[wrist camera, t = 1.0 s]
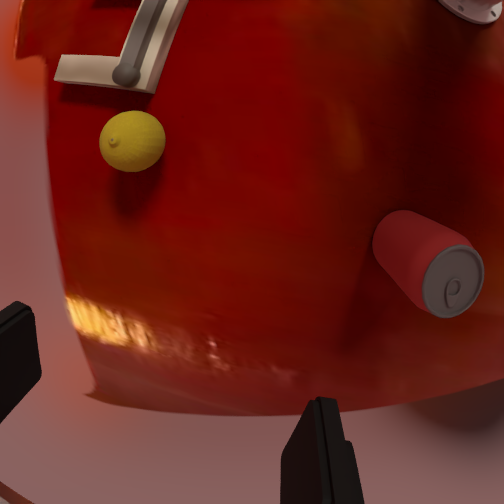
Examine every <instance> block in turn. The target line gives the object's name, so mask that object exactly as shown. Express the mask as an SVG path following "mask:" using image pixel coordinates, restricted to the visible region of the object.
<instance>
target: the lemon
mask: <svg viewBox="0 0 504 504" xmlns="http://www.w3.org/2000/svg"><path fill="white" fill-rule="evenodd" d="M165 140H166V139H165V132H164V130H163V127H162V125H161V124H160V123H159V121H158V120H157V119H156V118H154V117H153V116H152V115H150V114H147V113H145V112H142V111H128V112H123V113H120V114H118V115H116V116H114V117H113V118H112V119H111V120H109V121H108V122H107V124H106V125H105V126H104V128H103V130H102V132H101V136H100V150H101V154H102V156H103V158H104V159H105V160H106V161H107V163H108V164H109V165H111V166H113V167H114V168H116V169H118V170H121V171H125V172H137V171H141V170H145V169H147V168H148V167H150V166H152V165H153V164H154V163H155V162H156V161H157V160H158V159H159V158H160V156H161V155H162V153H163V150H164V147H165Z"/></svg>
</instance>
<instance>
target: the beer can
mask: <svg viewBox="0 0 504 504" xmlns="http://www.w3.org/2000/svg"><path fill="white" fill-rule="evenodd" d="M372 247H373V254H374V256H375V258H376V260H377V262H378V263H379V264H380V265H381V267H382V268H383V269H384V270H385V271H386V272H387V273H388V274H389V276H390V277H391V278H392V279H393V280H394V281H395V282H396V284H397V285H398V286H399V287H400V288H401V289H402V291H403V292H404V293H405V294H406V295H407V296H408V298H409V299H410V300H411V301H412V302H413V303H414V304H415V305H416V306H417V307H418V308H420V309H422V310H424V311H427V312H429V313H431V314H433V315H435V316H437V317H439V318H451V317H454V316H457V315H460V314H461V313H463V312H464V311H465V310H467V309H468V308H469V307H470V306H471V305H472V304H473V302H474V301H475V300H476V298H477V296H478V295H479V293H480V291H481V288H482V284H483V281H484V265H483V262H482V258H481V257H480V255H479V254H478V252H477V251H476V250H475V249H474V248H473V246H472V245H471V244H470V242H469V241H468V240H467V239H466V238H465V237H464V236H462V235H461V234H459V233H458V232H456V231H454V230H452V229H450V228H448V227H446V226H443V225H441V224H439V223H437V222H435V221H433V220H431V219H428V218H426V217H424V216H422V215H420V214H417V213H415V212H413V211H409V210H399V211H394V212H392V213H390V214H389V215H387V216H385V217H384V218H383V219H382V221H381V222H380V223H379V224H378V226H377V228H376V230H375V232H374V235H373V241H372Z"/></svg>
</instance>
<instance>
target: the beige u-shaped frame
mask: <svg viewBox="0 0 504 504" xmlns="http://www.w3.org/2000/svg"><path fill="white" fill-rule="evenodd" d="M188 1H189V0H142V2H141V4H140V7H139V9H138V11H137V14H136V16H135V18H134V21H133V23H132V26H131V28H130V31H129V33H128V36H127V38H126V41H125V44H124V47H123V49H122V52H121V55H120V57H111V56H92V55H62V56H61V59H60V62H59V65H58V68H57V71H56V74H55V78H54V80H55V81H59V82H63V83H70V84H82V85H93V86H102V87H110V88H118V89H126V90H133V91H139V92H146V93H152V94H155V91H156V87H157V84H158V81H159V78H160V75H161V72H162V69H163V66H164V63H165V60H166V57H167V54H168V52H169V49H170V46H171V43H172V41H173V38H174V35H175V33H176V30H177V28H178V25H179V22H180V20H181V17H182V15H183V13H184V10H185V8H186V5H187V3H188Z"/></svg>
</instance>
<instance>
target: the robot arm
mask: <svg viewBox="0 0 504 504" xmlns="http://www.w3.org/2000/svg"><path fill="white" fill-rule="evenodd" d="M438 1H439V2H440V3H441V4H442V5H443V6H444V7H446V8H447V9H448V10H449V11H451V12H452V13H454V14H456V15H457V16H459V17H461V18H463V19H465V20H467V21H469V22H472V23H476V24H489V23H491V22H493V21H495V20H497V19H498V18H499V16H500V14H501V11H502V1H503V0H438ZM41 374H42V370H41V365H40V358H39V351H38V343H37V335H36V325H35V316H34V313H33V312H32V310H31V308H30V307H29V306H27V305H26V304H23V303H21V302H19V301H15V302H13V303H12V304H11V305H9V306H7V307H6V308H4V309H3V310H1V311H0V423H1V422H2V421H3V420H4V419H5V418H6V416H7V415H8V414H9V413H10V412H11V411H12V410H13V408H14V407H15V406H16V405H17V404H18V403H19V402H20V401H21V400H22V399H23V397H24V396H25V395H26V394H27V393H28V392H29V391H30V390H31V389H32V388H33V386H34V385H35V384H36V383H37V382H38V381H39V380H40V378H41ZM0 504H34V503H32V502H31V501H29V500H27V499H26V498H24V497H23V496H21V495H20V494H18V493H16V492H15V491H13V490H12V489H10V488H9V487H7V486H6V485H4V484H3V483H2V482H0ZM280 504H364V498H363V493H362V488H361V483H360V478H359V473H358V468H357V463H356V458H355V454H354V449H353V446H352V443H351V442H350V441H346V440H345V438H344V432H343V428H342V423H341V418H340V413H339V409H338V404H337V401H336V399H332V398H325V397H317V398H316V399H315V400H310V401H309V402H308V404H307V406H306V408H305V410H304V412H303V414H302V416H301V418H300V420H299V422H298V424H297V426H296V428H295V430H294V432H293V433H292V435H291V437H290V439H289V441H288V443H287V445H286V446H285V448H284V450H283V452H282V456H281V487H280Z"/></svg>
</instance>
